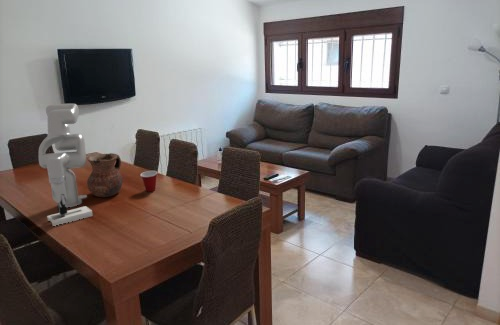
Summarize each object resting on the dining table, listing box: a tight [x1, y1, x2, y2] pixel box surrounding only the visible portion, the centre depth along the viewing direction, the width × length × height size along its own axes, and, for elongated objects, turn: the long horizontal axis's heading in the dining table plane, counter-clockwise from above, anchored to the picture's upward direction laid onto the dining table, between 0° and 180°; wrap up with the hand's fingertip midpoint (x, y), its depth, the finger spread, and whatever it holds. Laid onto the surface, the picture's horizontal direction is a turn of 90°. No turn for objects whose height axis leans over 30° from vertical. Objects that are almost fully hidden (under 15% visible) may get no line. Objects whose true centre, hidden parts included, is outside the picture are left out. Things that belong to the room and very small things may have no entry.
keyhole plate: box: [46, 205, 94, 227], centre depth 200 cm, size 20×10×3 cm, turn 132°
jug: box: [86, 152, 124, 198], centre depth 235 cm, size 22×21×25 cm
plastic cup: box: [140, 170, 158, 193], centre depth 241 cm, size 11×11×12 cm
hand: (62, 212), depth 197 cm, fingers closed on peg, 3 cm apart
